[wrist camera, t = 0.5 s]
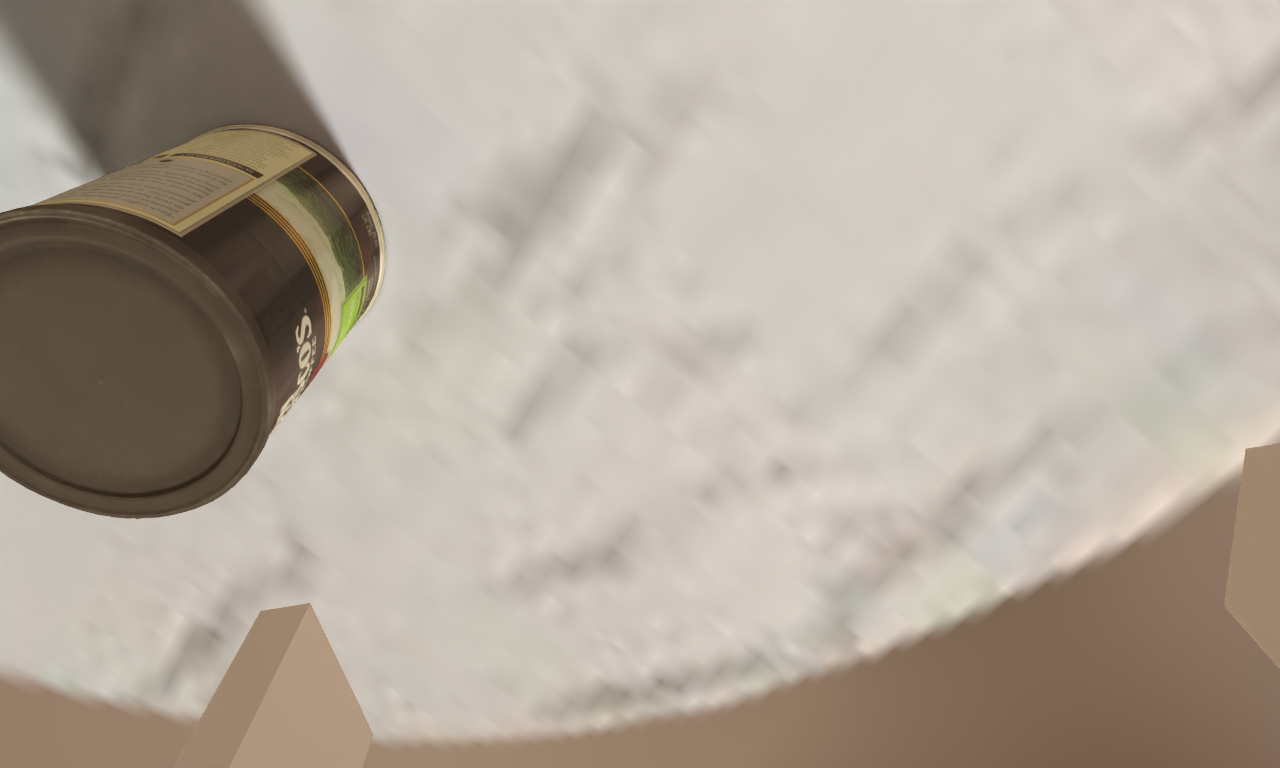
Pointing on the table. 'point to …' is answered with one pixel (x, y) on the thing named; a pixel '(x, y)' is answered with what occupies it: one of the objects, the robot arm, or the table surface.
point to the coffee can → (176, 317)
